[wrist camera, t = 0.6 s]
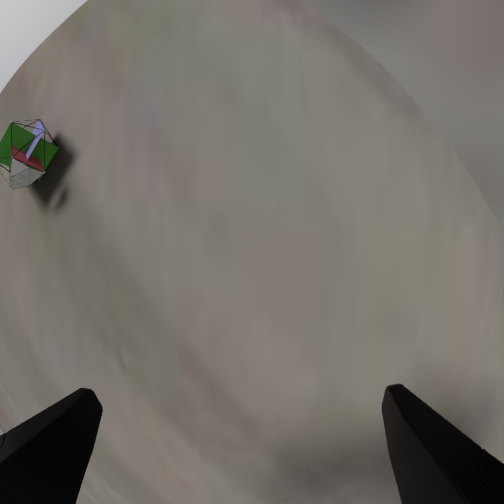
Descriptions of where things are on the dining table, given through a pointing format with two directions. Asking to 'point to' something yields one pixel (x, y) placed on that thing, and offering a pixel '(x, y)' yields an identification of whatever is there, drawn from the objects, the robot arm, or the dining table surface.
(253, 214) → the dining table surface
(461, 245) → the dining table surface
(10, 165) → the geometric puzzle
